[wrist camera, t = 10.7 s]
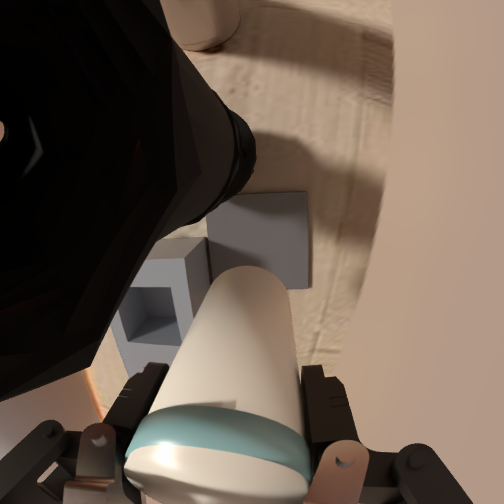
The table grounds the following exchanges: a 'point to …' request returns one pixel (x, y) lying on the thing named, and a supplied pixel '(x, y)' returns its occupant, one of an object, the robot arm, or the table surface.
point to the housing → (161, 303)
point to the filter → (96, 170)
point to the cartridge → (229, 404)
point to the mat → (262, 235)
